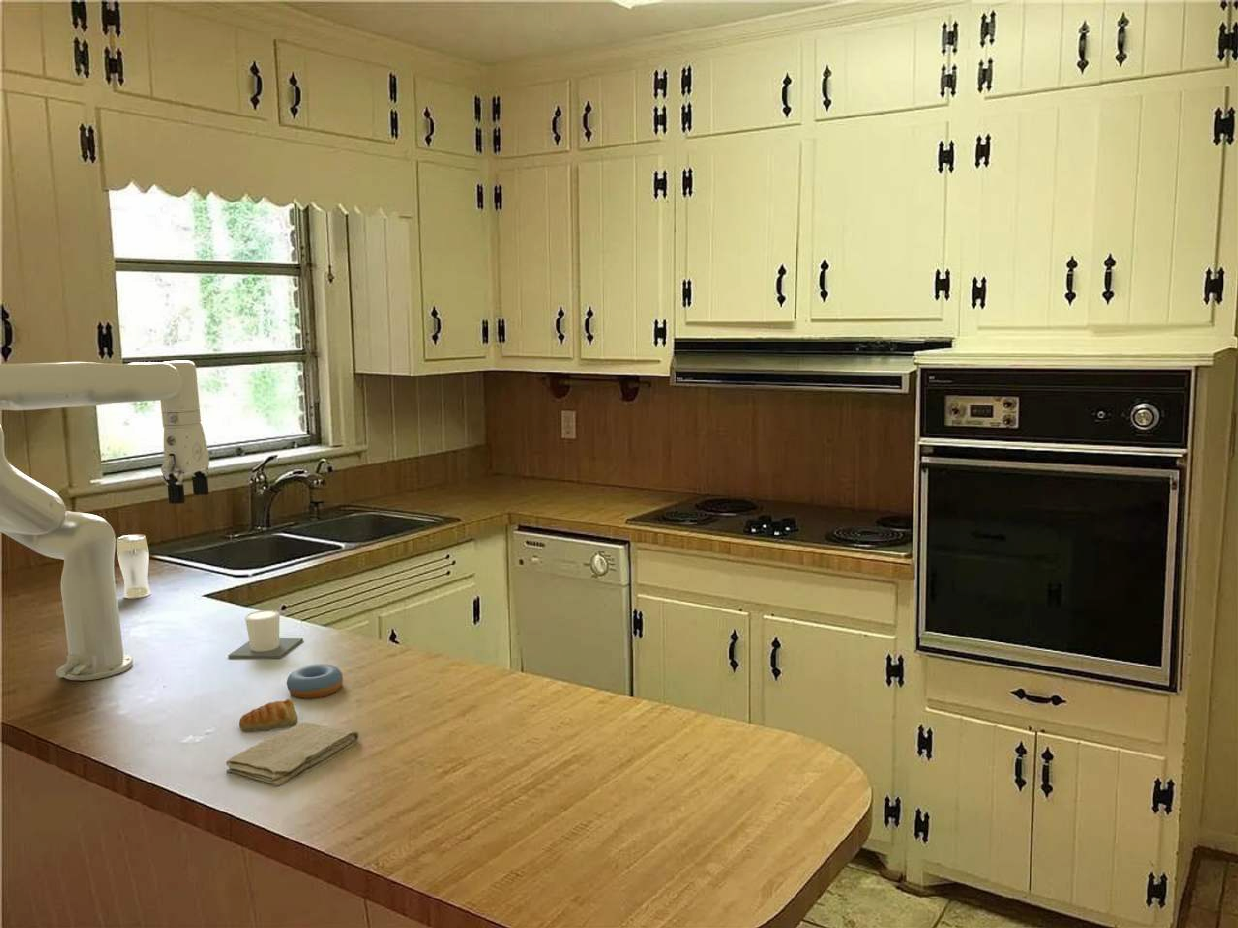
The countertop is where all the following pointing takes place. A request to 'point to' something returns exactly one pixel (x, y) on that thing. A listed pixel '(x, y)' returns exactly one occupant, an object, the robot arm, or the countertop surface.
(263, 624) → the white cup
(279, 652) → the mat
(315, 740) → the washcloth
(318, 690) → the doughnut
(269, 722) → the pastry
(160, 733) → the countertop surface
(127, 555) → the beer glass
